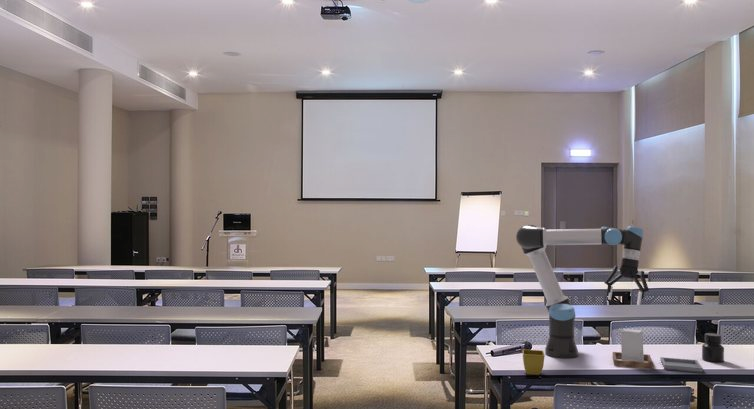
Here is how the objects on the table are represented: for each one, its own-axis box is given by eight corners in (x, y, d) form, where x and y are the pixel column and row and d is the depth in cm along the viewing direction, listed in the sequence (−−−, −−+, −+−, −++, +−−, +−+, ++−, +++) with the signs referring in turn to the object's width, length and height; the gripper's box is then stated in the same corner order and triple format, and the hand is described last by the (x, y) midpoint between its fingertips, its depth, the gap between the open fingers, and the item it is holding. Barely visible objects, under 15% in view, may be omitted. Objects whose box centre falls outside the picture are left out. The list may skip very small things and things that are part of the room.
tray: (664, 369, 267) (664, 364, 267) (660, 361, 281) (660, 357, 281) (702, 372, 262) (702, 368, 262) (696, 364, 276) (696, 360, 276)
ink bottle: (729, 362, 280) (729, 336, 280) (712, 363, 278) (712, 337, 278) (713, 357, 290) (713, 332, 290) (697, 358, 288) (697, 332, 288)
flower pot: (544, 377, 253) (544, 355, 253) (522, 375, 255) (523, 354, 255) (543, 371, 261) (543, 350, 262) (522, 370, 263) (522, 349, 263)
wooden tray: (614, 365, 272) (614, 360, 272) (612, 357, 288) (612, 351, 288) (653, 369, 267) (653, 363, 267) (649, 360, 283) (649, 354, 283)
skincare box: (643, 363, 277) (644, 330, 277) (639, 365, 273) (639, 332, 273) (625, 360, 283) (625, 328, 283) (620, 362, 278) (620, 329, 278)
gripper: (606, 254, 292) (599, 298, 291) (660, 263, 290) (653, 307, 288) (602, 254, 300) (595, 296, 299) (654, 263, 297) (647, 306, 296)
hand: (623, 302), depth 293 cm, fingers open, 13 cm apart
